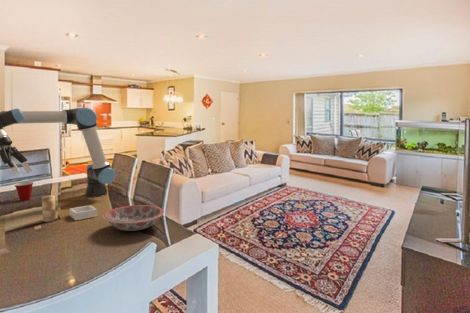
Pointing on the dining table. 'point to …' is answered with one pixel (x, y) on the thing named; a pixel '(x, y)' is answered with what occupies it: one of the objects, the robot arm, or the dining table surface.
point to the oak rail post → (48, 208)
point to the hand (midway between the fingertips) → (23, 172)
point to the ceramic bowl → (133, 217)
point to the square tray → (83, 212)
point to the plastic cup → (24, 190)
